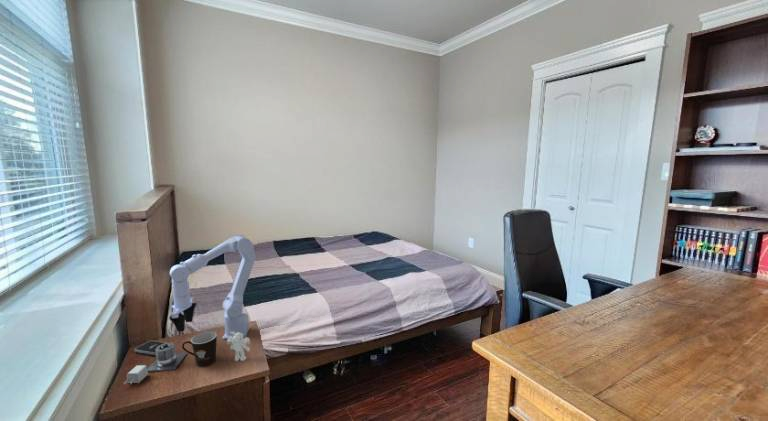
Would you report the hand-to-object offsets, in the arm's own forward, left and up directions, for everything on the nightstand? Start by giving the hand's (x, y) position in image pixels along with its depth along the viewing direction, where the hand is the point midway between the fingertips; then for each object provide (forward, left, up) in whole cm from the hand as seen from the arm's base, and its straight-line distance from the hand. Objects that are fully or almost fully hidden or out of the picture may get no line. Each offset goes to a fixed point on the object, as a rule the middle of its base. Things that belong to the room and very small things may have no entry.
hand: (185, 326), depth 130 cm
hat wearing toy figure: (-24, +11, -10) cm, 28 cm away
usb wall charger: (+9, +19, -10) cm, 23 cm away
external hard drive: (+13, -1, -10) cm, 17 cm away
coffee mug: (-10, +10, -10) cm, 17 cm away
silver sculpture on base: (+3, +9, -10) cm, 14 cm away
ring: (+4, +9, -7) cm, 12 cm away
